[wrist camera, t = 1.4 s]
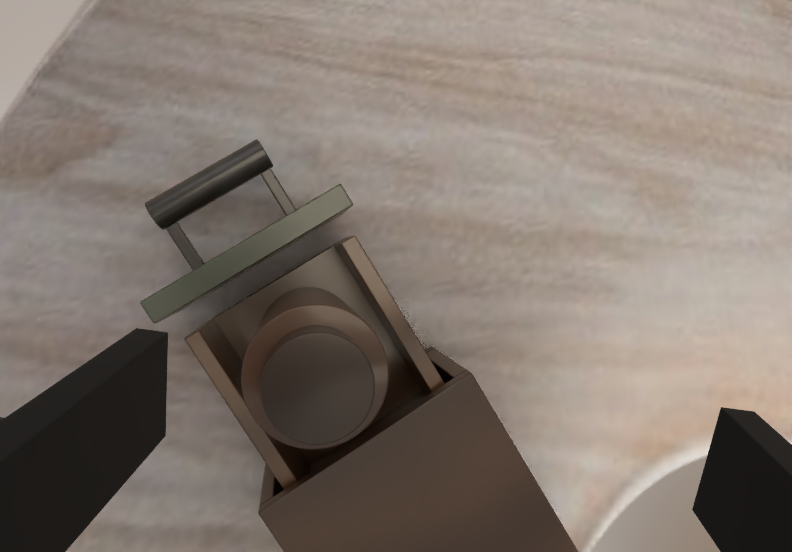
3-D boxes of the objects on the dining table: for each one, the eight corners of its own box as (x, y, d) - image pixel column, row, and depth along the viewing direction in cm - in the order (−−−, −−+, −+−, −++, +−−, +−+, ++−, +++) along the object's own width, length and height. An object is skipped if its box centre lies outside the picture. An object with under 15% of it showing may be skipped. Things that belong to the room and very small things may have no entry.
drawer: (127, 228, 34) (85, 222, 27) (293, 133, 35) (293, 104, 28) (294, 483, 36) (294, 535, 29) (445, 383, 37) (478, 412, 30)
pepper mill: (240, 320, 34) (203, 365, 20) (324, 268, 35) (345, 278, 21) (292, 401, 34) (292, 499, 21) (374, 349, 35) (426, 410, 21)
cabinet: (266, 452, 36) (257, 512, 28) (431, 345, 38) (471, 372, 29) (388, 638, 38) (416, 748, 30) (542, 529, 40) (610, 604, 31)
